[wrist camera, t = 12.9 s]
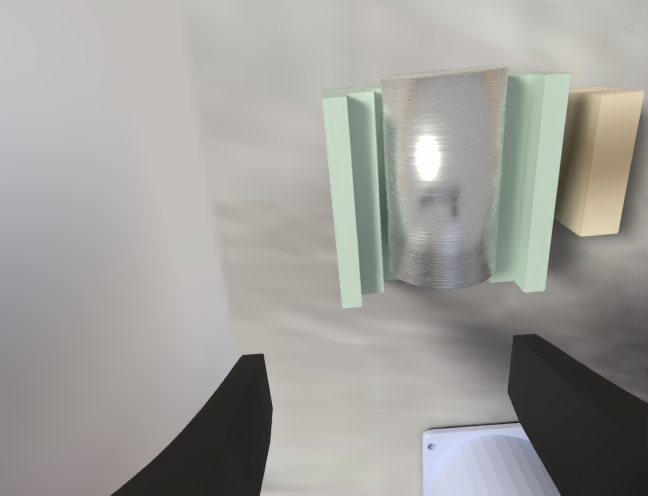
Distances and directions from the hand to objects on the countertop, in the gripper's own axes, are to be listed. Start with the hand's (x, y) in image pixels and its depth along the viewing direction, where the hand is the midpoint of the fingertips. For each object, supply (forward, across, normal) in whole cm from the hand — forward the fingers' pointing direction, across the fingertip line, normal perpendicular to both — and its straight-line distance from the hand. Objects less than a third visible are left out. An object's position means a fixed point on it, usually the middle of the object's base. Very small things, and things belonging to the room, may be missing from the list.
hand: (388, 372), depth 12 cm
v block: (+9, -3, -3) cm, 10 cm away
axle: (+7, -3, -4) cm, 9 cm away
